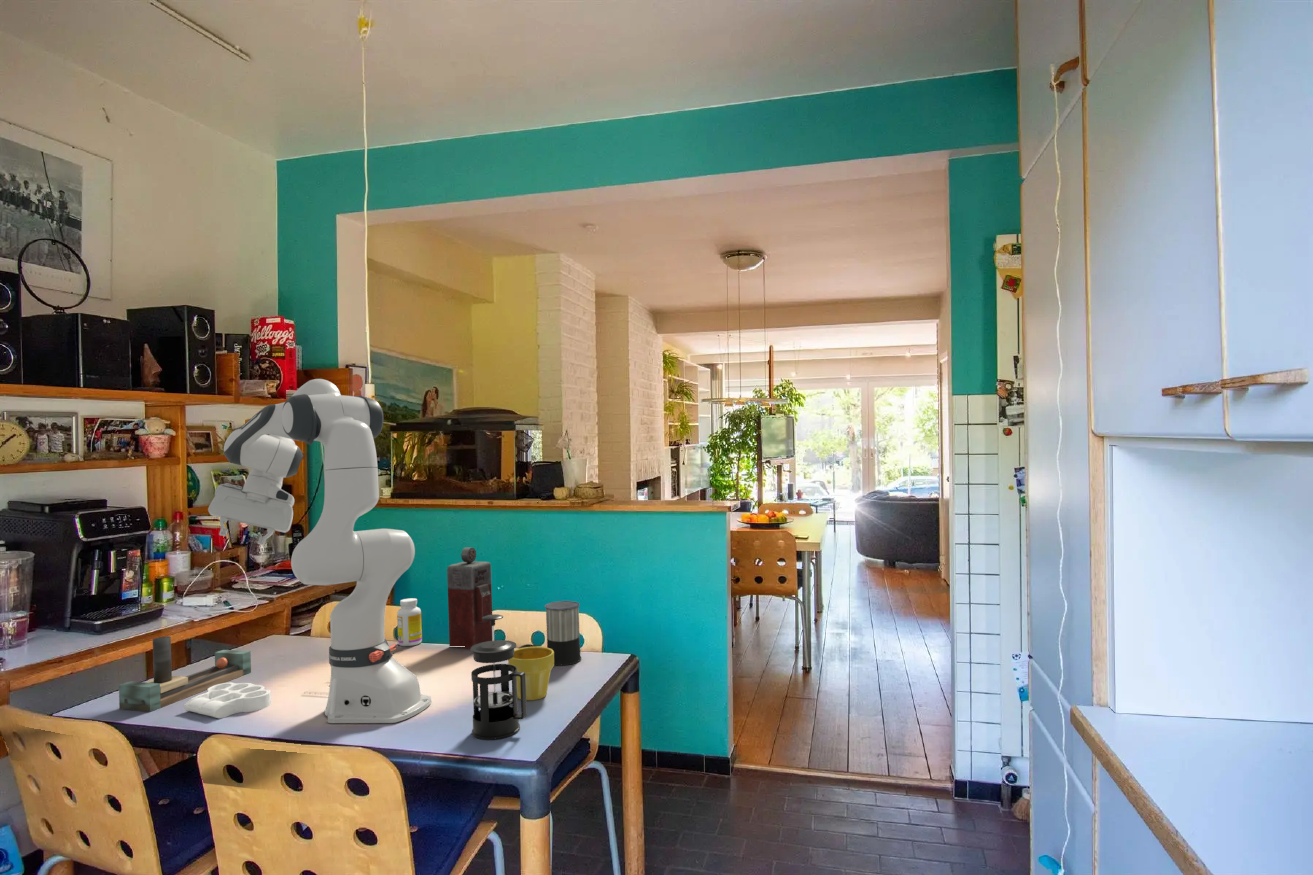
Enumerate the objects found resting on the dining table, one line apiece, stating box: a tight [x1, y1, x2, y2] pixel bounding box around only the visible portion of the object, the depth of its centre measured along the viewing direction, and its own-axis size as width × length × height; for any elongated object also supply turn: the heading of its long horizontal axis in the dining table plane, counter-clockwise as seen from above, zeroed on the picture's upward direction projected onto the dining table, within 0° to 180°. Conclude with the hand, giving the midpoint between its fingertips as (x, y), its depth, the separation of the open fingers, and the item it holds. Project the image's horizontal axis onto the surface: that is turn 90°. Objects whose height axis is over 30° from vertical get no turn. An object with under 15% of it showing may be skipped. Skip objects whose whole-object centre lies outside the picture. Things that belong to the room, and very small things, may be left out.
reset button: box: [216, 657, 228, 669], centre depth 186 cm, size 3×1×3 cm, turn 75°
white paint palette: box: [183, 681, 272, 719], centre depth 164 cm, size 3×18×15 cm
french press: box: [470, 613, 528, 741], centre depth 145 cm, size 12×9×23 cm
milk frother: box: [517, 600, 582, 666], centre depth 190 cm, size 14×16×15 cm
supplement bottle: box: [396, 597, 423, 647], centre depth 212 cm, size 7×7×13 cm
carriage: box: [145, 635, 188, 693], centre depth 170 cm, size 7×7×12 cm
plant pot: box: [507, 646, 555, 701], centre depth 164 cm, size 10×10×10 cm
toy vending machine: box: [446, 546, 493, 651], centre depth 208 cm, size 9×11×28 cm
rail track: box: [118, 649, 252, 713], centre depth 177 cm, size 9×28×6 cm, turn 165°
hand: (241, 539), depth 193 cm, fingers open, 8 cm apart
